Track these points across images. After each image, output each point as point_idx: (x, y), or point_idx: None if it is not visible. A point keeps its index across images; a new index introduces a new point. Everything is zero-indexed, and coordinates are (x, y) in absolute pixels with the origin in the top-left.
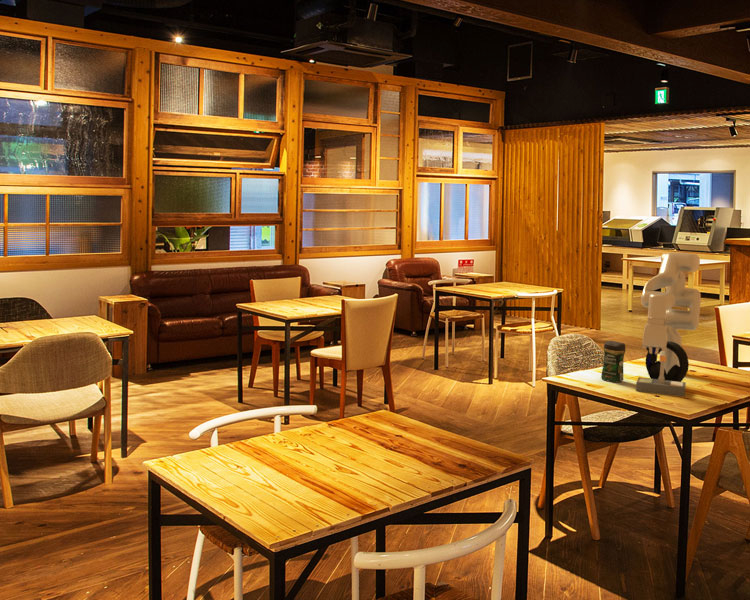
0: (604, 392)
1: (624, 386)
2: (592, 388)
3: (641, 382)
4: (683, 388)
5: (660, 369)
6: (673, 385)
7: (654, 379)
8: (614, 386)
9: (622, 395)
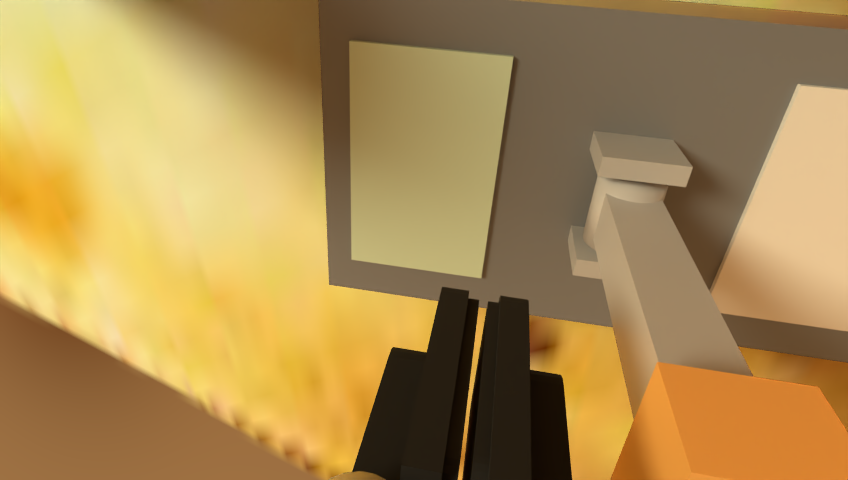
0: (158, 354)
1: (229, 88)
2: (44, 273)
3: (380, 283)
4: (840, 354)
5: (617, 321)
6: (741, 315)
7: (545, 45)
8: (150, 132)
9: (285, 393)
